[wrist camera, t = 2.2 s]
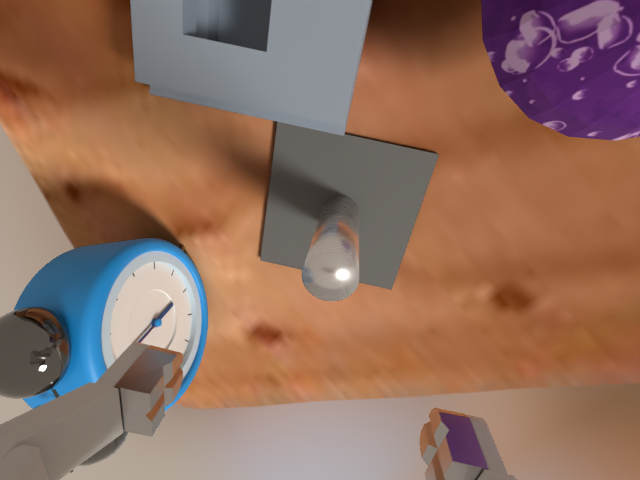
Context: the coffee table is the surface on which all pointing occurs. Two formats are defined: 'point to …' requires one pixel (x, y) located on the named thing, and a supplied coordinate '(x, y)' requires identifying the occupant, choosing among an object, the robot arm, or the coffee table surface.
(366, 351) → the coffee table surface
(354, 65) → the grey block with hole
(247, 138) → the coffee table surface
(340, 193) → the rubber mat
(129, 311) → the alarm clock
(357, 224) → the steel pin
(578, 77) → the decorative mushroom
